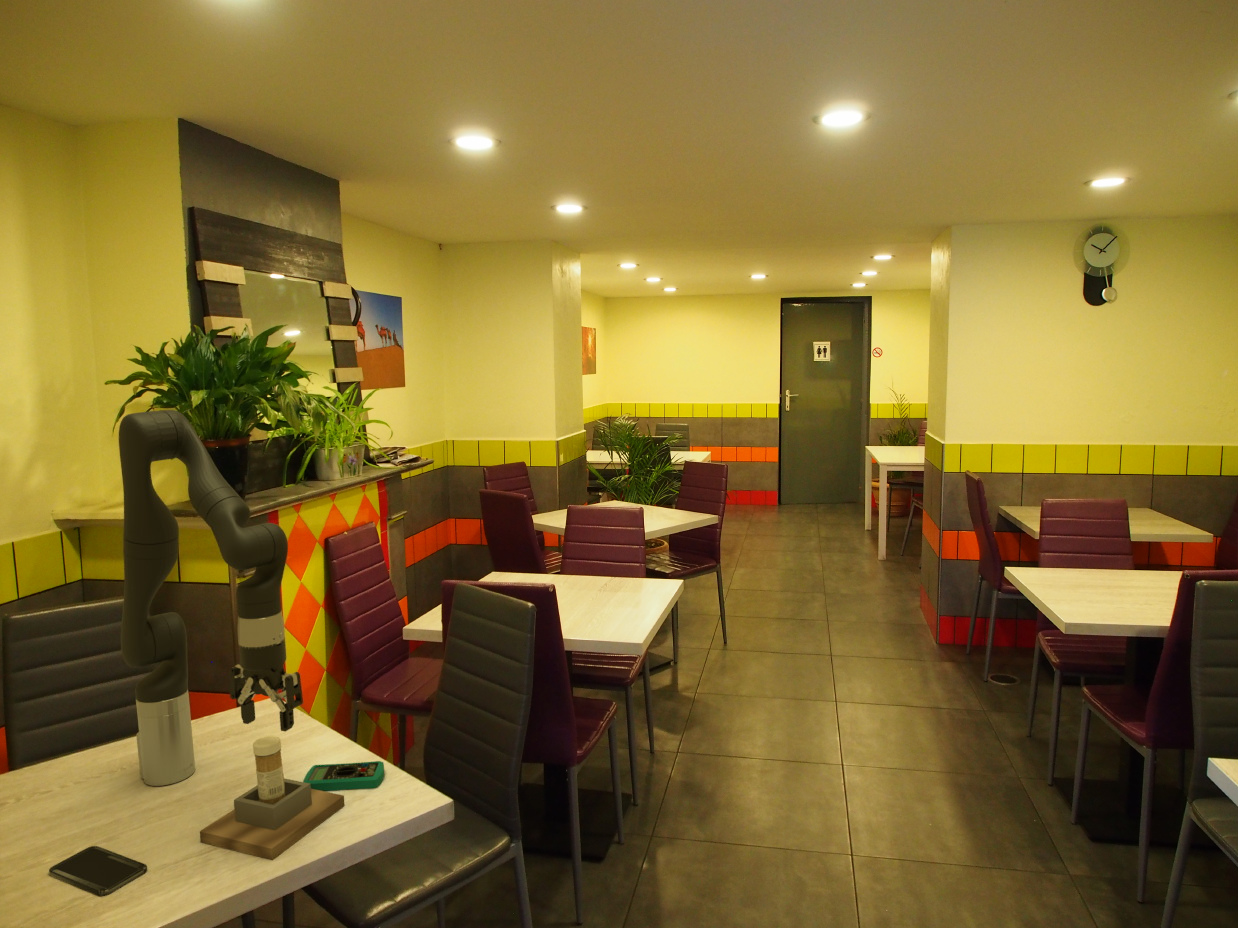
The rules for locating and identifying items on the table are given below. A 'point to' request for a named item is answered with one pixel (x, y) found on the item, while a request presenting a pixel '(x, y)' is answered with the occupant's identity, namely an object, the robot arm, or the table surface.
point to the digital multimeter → (345, 776)
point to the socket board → (267, 840)
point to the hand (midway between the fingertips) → (268, 725)
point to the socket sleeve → (273, 806)
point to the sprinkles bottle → (269, 769)
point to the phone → (98, 870)
